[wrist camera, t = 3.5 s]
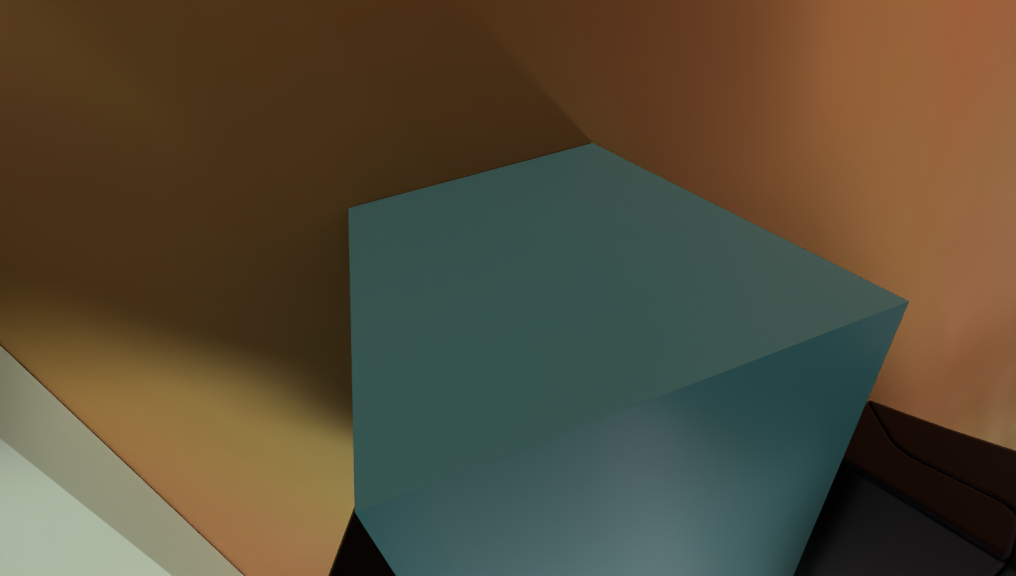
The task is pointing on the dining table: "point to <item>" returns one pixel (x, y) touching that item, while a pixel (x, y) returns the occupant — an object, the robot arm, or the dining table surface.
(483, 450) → the teal brick
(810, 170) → the dining table surface
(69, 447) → the base plate
